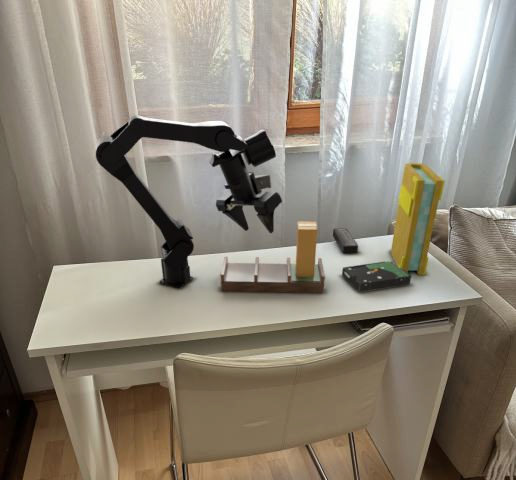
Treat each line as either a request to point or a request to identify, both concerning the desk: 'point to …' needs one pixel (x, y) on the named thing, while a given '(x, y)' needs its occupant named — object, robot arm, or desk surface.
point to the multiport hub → (345, 240)
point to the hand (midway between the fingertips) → (259, 231)
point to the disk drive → (375, 276)
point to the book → (416, 217)
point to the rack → (269, 278)
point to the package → (306, 249)
